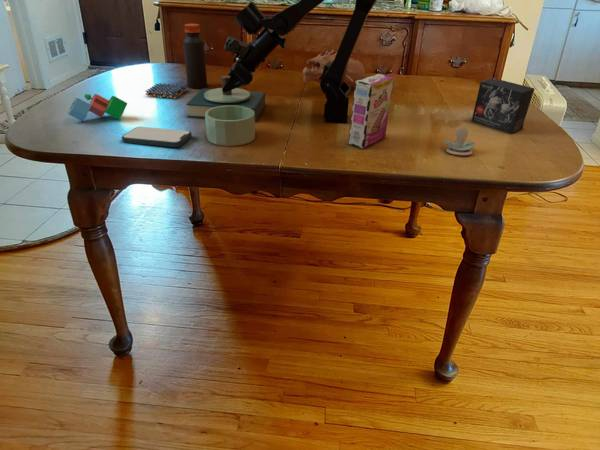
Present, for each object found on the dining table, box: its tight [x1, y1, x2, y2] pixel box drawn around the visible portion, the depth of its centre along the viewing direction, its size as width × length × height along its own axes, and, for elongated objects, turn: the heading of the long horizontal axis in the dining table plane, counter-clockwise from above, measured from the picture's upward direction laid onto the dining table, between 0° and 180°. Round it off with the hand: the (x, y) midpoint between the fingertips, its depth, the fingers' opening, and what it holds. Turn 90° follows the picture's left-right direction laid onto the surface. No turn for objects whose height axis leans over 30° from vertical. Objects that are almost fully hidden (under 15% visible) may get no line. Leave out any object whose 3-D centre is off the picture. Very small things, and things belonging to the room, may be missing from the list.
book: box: [185, 88, 266, 123], centre depth 137 cm, size 20×16×4 cm
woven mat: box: [145, 82, 187, 100], centre depth 151 cm, size 10×11×2 cm
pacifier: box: [444, 126, 475, 157], centre depth 114 cm, size 7×6×6 cm
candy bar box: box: [348, 73, 395, 150], centre depth 116 cm, size 11×5×16 cm, turn 141°
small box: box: [471, 77, 535, 134], centre depth 131 cm, size 13×7×12 cm, turn 40°
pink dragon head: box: [302, 49, 366, 88], centre depth 155 cm, size 13×15×25 cm
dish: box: [204, 105, 256, 147], centre depth 119 cm, size 13×13×6 cm
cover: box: [204, 75, 251, 103], centre depth 134 cm, size 14×14×6 cm
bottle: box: [182, 23, 208, 90], centre depth 155 cm, size 7×7×20 cm
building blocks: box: [67, 93, 128, 122], centre depth 127 cm, size 8×8×12 cm
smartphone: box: [121, 126, 193, 148], centre depth 117 cm, size 9×2×16 cm
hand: (224, 86), depth 134 cm, fingers open, 9 cm apart
